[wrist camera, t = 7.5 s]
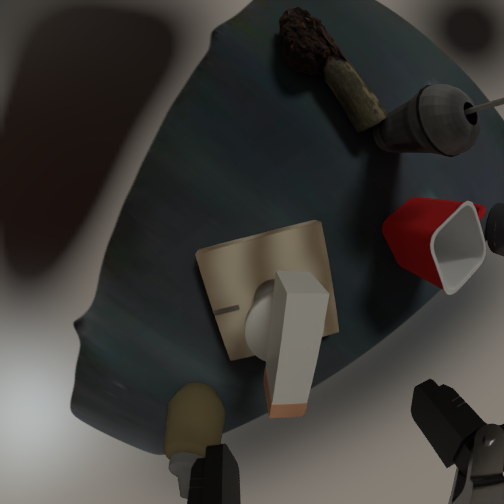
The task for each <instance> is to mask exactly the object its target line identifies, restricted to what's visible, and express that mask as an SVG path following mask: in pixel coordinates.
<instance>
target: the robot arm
mask: <svg viewBox="0 0 504 504" xmlns="http://www.w3.org/2000/svg"><path fill="white" fill-rule="evenodd" d="M487 242H488V246H489V248H490V250H491V251H492V252H493V253H496V254H499V255H502V256H504V204H503V203H498V204H496V205H495V206H494V207H493V208H492V210H491V212H490V215H489V217H488V222H487ZM411 414H412V417H413V419H414V421H415V422H416V424H417V425H418V427H419V428H420V429H421V431H422V432H423V434H424V435H425V437H426V438H427V440H428V441H429V442H430V444H431V445H432V447H433V448H434V450H435V451H436V453H437V454H438V456H439V457H440V458H441V460H442V462H443V463H444V465H445V466H446V468H448V467H450V466H451V465H453V464H454V463H455V465H456V466H457V469H456V473H455V478H454V484H453V488H452V492H451V496H450V500H449V504H504V476H503V472H504V424H502V425H496V424H487V423H485V422H484V421H483V420H482V419H481V418H480V417H479V416H478V415H477V414H476V412H475V411H474V410H473V409H472V408H471V407H470V406H469V405H468V404H467V403H465V401H464V400H463V399H462V397H460V396H459V394H458V393H457V392H456V391H455V390H454V389H453V388H451V387H449V386H446V385H444V384H443V385H441V386H438V385H437V384H436V383H435V382H434V381H433V380H432V379H429V380H427V381H425V382H423V383H421V384H419V385H417V386H416V387H415V388H414V393H413V399H412V405H411ZM239 479H240V478H239V468H238V464H237V462H236V460H235V458H234V456H233V455H232V453H231V451H230V450H229V448H228V447H227V445H226V444H217V445H208V446H207V447H206V453H205V458H197V459H196V461H195V463H194V464H193V466H192V468H191V474H190V483H189V487H190V488H189V492H188V501H187V504H240V480H239Z"/></svg>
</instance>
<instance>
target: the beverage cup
mask: <svg viewBox="0 0 504 504" xmlns="http://www.w3.org/2000/svg"><path fill="white" fill-rule="evenodd" d="M502 104H504V98H501V99H498V100H494V101H491V102H487V103H484V104H481V105H477V106H475V104H474V103H473V101H472V100H471V99H470V98H469V96H468V95H466V94H465V93H464V92H463V91H461V90H460V89H458V88H456V87H453V86H450V85H447V84H438V85H427V86H425V87H424V88H422V89H421V90H420V92H419V93H417V94H416V95H415V96H414V97H413V98H412V99H411V100H409V101H408V102H406V103H404V104H403V105H401V106H400V107H398V108H396V109H395V110H393V111H392V112H390V113H388V114H387V116H386V118H385V119H383V120H382V121H381V122H380V123H378V124H376V125H375V126H374V127H373V137H374V140H375V142H376V144H377V145H378V147H380V148H381V149H382V150H384V151H386V152H396V153H435V154H441V155H444V156H449V157H453V156H456V155H459V154H460V153H463V152H466V151H468V150H469V149H470V148H471V147H472V146H473V145H474V144H475V142H476V141H477V139H478V136H479V133H480V123H481V122H480V116H479V113H478V111H481V110H484V109H488V108H491V107H495V106H499V105H502Z"/></svg>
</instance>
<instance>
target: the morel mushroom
mask: <svg viewBox="0 0 504 504" xmlns="http://www.w3.org/2000/svg"><path fill="white" fill-rule="evenodd" d="M279 24H280V35H281V36H282V39H283V56H284V58H285V60H286V61H287V64H288V65H289V66H291V68H293V69H294V70H295V71H297V72H299V73H302V74H308V75H310V76H320V75H321V76H323V78H324V80H325V82H326V83H327V84H328V86H329V87H330V89H331V90H332V92H333V93H334V95H335V96H336V98H337V99H338V101H339V102H340V104H341V105H342V107H343V109H344V110H345V112H346V114H347V115H348V117H349V119H350V121H351V122H352V124H353V126H354V127H355V129H356V131H357V132H358V133H359V132H362V131H365V130H367V129H369V128H371V127H373V126H375V125H376V124H378V123H380V122H381V121H382V120H383V119H385V118H386V116H387V113H386V111H385V110H384V108H383V107H382V105H381V104H380V102H379V101H378V99H377V98H376V96H375V95H374V94H373V92H372V91H371V89H370V88H369V86H368V85H367V83H366V82H365V81H364V79H363V78H362V77H361V75H360V74H359V73H358V71H357V70H356V69H355V67H354V66H353V65H352V64H351V62H350V61H349V60H348V59H347V57H346V56H345V55H344V54H343V52H342V51H341V50H340V49H339V48H338V47H337V45H336V44H335V42H334V40H333V39H332V37H331V36H330V35H329V33H328V32H327V31H326V29H325V27H324V26H323V25H322V24H321V20H319V19H318V18H315V17H310V14H309V12H308V11H307V10H302V9H301V8H299V7H297V8H295V9H294V8H293V9H290V8H288V9H287V10H286V11H285V12H284V14H283V15H282V17H280V20H279Z"/></svg>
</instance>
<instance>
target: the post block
mask: <svg viewBox="0 0 504 504" xmlns="http://www.w3.org/2000/svg"><path fill="white" fill-rule="evenodd" d="M195 255H196V259H197V262H198V265H199V269H200V272H201V275H202V278H203V281H204V285H205V288H206V291H207V294H208V297H209V300H210V303H211V306H212V309H213V313H214V315H215V318H216V321H217V324H218V327H219V330H220V333H221V336H222V339H223V341H224V344H225V347H226V350H227V353H228V355H229V358H230V361H232V360H237V359H241V358H246V357H250V356H254V354H253V352H252V351H251V350H250V349H249V347H248V345H247V342H246V338H245V319H246V316H247V313H248V311H249V310H250V308H251V307H252V305H253V304H254V303H255V302H256V301H257V300H258V299H260V298H261V297H262V296H264V295H266V294H268V293H270V292H273V291H274V284H275V273H276V270H281V271H306V272H311V274H312V275H313V276H314V277H315V278H316V279H317V280H318V281H319V282H320V284H321V285H322V286H323V287H324V288H325V289H326V290H327V292H328V293H329V299H328V305H327V311H326V317H325V322H324V333H323V336H322V337H324V336H327V335H330V334H334V333H337V332H339V328H338V320H337V312H336V305H335V298H334V292H333V285H332V279H331V273H330V267H329V261H328V255H327V250H326V244H325V239H324V234H323V229H322V224H321V222H319V221H317V220H312V221H308V222H304V223H300V224H296V225H292V226H288V227H284V228H280V229H276V230H272V231H268V232H264V233H260V234H256V235H252V236H249V237H245V238H241V239H237V240H233V241H229V242H225V243H222V244H218V245H214V246H210V247H207V248H203V249H199V250H198V251H197V253H196V254H195Z"/></svg>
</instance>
